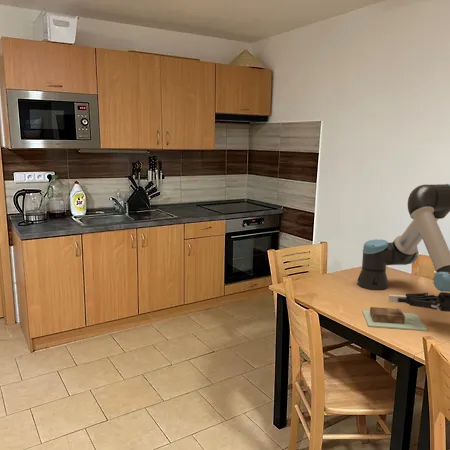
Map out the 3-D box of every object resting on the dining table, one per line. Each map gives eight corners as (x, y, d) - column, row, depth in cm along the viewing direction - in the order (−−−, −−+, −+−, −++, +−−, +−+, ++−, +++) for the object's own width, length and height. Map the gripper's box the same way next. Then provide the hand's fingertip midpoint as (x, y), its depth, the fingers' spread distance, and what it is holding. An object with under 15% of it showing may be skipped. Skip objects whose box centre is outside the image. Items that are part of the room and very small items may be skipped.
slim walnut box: (404, 323, 170) (373, 321, 171) (399, 316, 177) (369, 314, 179) (405, 316, 169) (373, 314, 171) (400, 308, 177) (370, 307, 179)
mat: (368, 326, 168) (368, 325, 168) (362, 311, 184) (362, 310, 183) (427, 331, 165) (427, 329, 164) (415, 315, 180) (415, 313, 180)
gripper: (455, 317, 163) (391, 313, 167) (444, 305, 176) (384, 301, 180) (457, 299, 162) (393, 295, 166) (446, 287, 175) (386, 284, 178)
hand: (389, 298), depth 173 cm, fingers closed
